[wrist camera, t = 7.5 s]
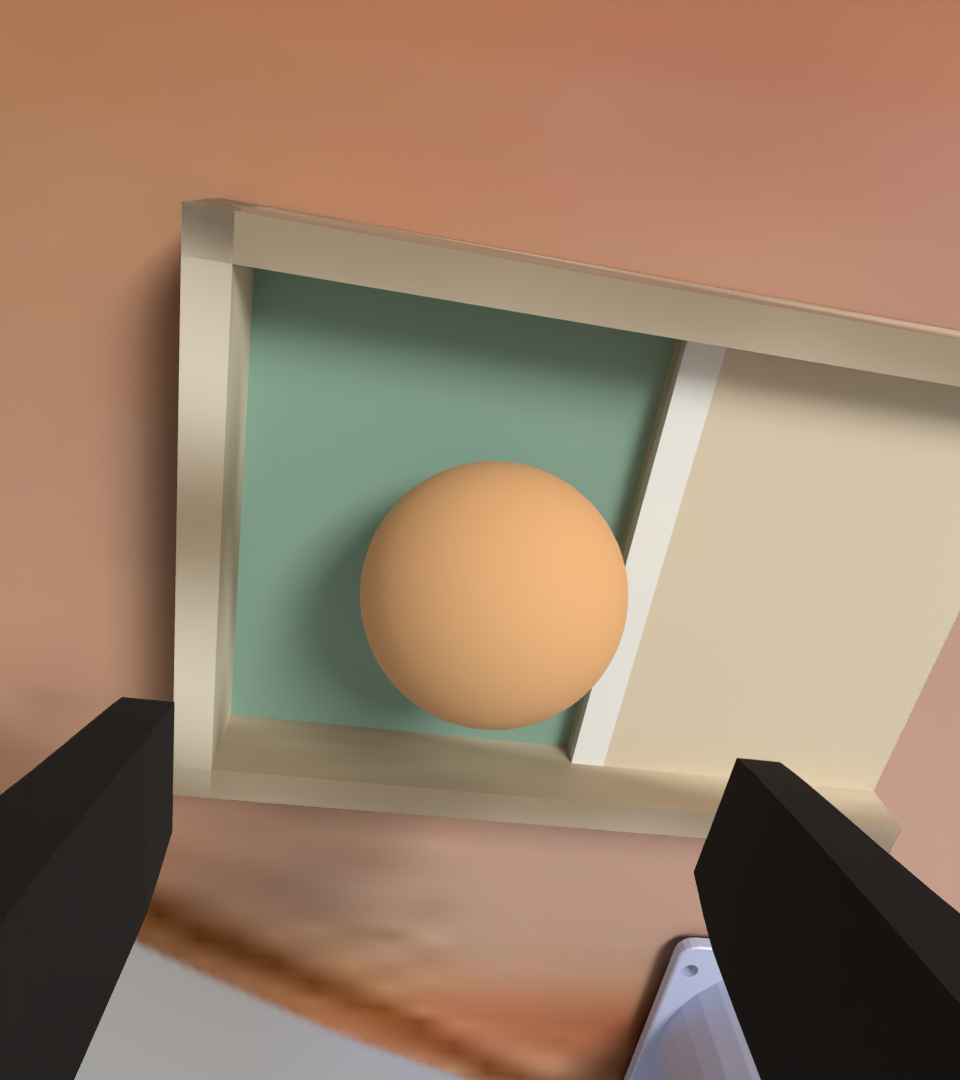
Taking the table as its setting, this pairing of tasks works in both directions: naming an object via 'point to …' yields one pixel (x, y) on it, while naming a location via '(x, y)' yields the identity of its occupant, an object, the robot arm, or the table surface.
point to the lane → (628, 508)
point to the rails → (216, 501)
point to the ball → (494, 595)
